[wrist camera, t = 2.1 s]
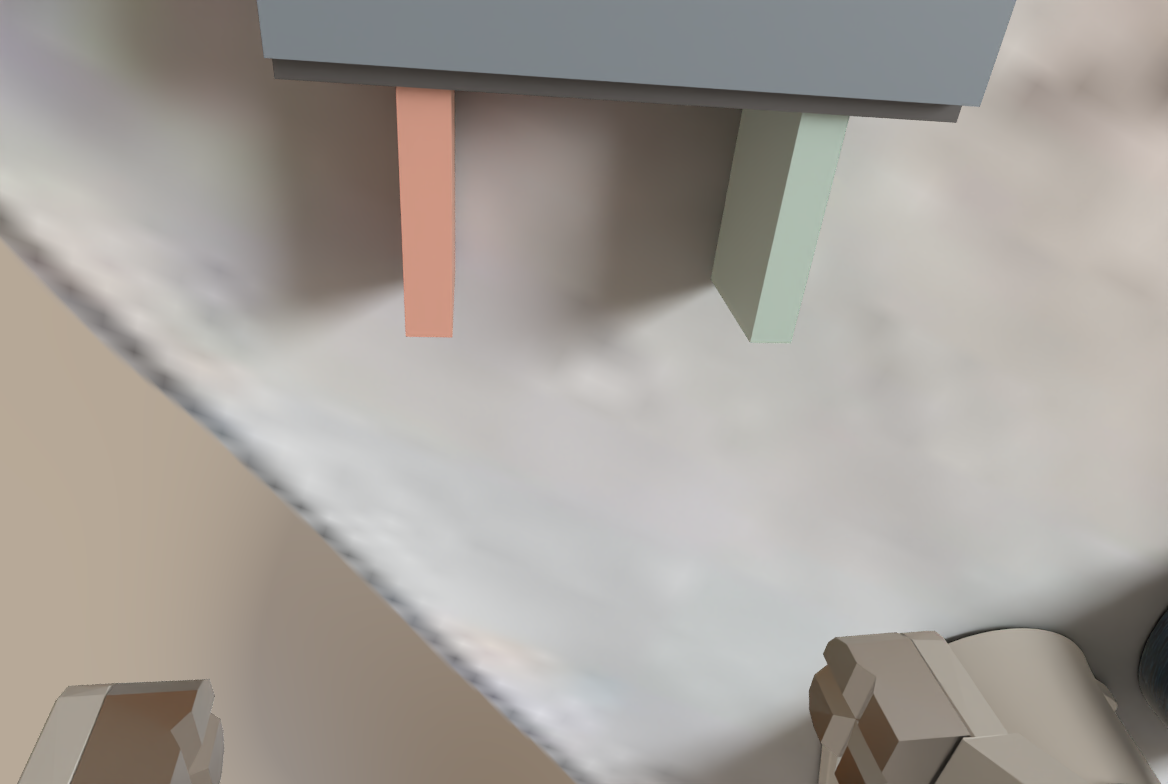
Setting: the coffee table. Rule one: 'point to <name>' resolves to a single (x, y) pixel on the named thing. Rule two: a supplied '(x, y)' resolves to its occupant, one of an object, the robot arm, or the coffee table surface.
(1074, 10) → the coffee table surface
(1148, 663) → the planter
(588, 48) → the grey rectangular block
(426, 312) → the pink stick
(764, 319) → the mint green upright slab
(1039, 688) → the robot arm
